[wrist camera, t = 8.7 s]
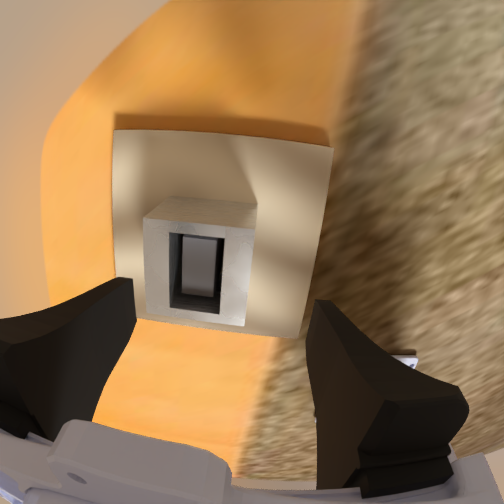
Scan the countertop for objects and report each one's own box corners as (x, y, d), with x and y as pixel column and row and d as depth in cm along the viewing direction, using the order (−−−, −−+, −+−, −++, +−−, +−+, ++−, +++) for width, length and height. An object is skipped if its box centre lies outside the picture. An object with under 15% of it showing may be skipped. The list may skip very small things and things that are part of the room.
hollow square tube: (248, 283, 22) (244, 326, 17) (169, 274, 22) (146, 312, 17) (258, 204, 20) (255, 229, 15) (170, 195, 20) (142, 217, 15)
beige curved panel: (296, 329, 25) (302, 374, 20) (125, 306, 25) (100, 344, 20) (330, 146, 19) (350, 154, 15) (121, 129, 19) (82, 133, 15)
